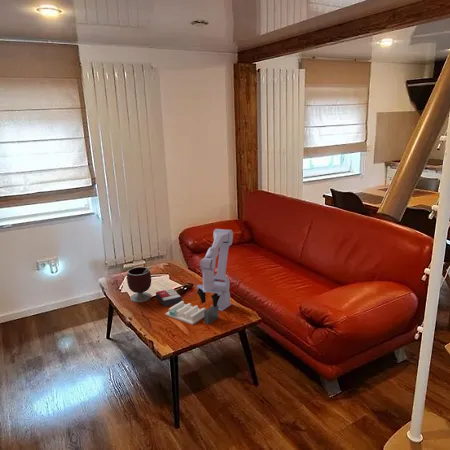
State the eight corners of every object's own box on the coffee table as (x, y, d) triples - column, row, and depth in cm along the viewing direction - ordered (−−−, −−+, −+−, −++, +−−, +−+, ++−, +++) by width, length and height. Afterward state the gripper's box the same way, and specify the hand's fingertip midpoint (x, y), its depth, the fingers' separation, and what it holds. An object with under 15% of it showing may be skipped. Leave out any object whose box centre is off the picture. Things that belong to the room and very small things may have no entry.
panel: (214, 316, 208) (214, 304, 206) (218, 317, 206) (218, 305, 204) (204, 323, 201) (204, 311, 199) (208, 324, 199) (207, 312, 197)
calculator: (172, 287, 236) (181, 295, 223) (173, 294, 237) (182, 302, 224) (155, 291, 231) (163, 300, 218) (156, 298, 232) (163, 307, 219)
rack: (182, 304, 221) (182, 299, 220) (209, 313, 210) (208, 307, 210) (165, 315, 210) (165, 309, 209) (192, 324, 199) (192, 318, 198)
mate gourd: (124, 301, 226) (121, 269, 221) (135, 291, 239) (132, 261, 234) (149, 304, 223) (146, 271, 217) (158, 293, 236) (156, 263, 230)
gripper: (192, 279, 198) (193, 304, 201) (215, 286, 190) (216, 311, 193) (201, 275, 203) (202, 298, 207) (223, 281, 195) (224, 305, 199)
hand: (209, 304), depth 200 cm, fingers open, 7 cm apart
